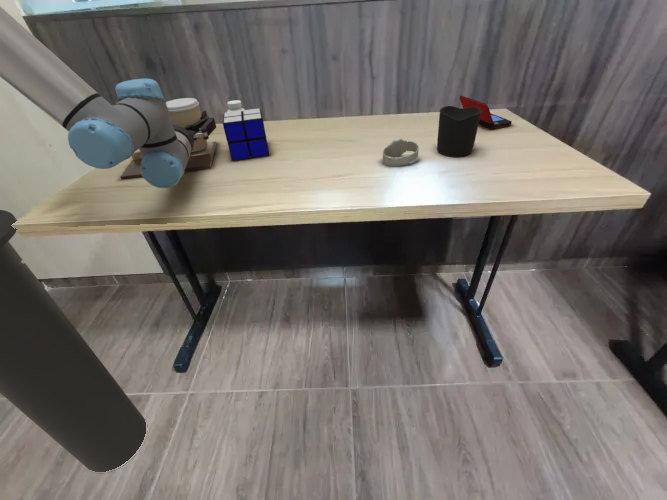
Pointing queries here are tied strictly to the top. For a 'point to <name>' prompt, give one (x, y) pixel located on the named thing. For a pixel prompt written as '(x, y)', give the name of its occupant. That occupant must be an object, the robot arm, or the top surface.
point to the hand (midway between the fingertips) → (189, 117)
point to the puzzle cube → (245, 134)
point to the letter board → (195, 162)
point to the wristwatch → (400, 153)
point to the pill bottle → (234, 106)
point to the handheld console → (485, 114)
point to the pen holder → (457, 130)
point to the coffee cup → (186, 116)
